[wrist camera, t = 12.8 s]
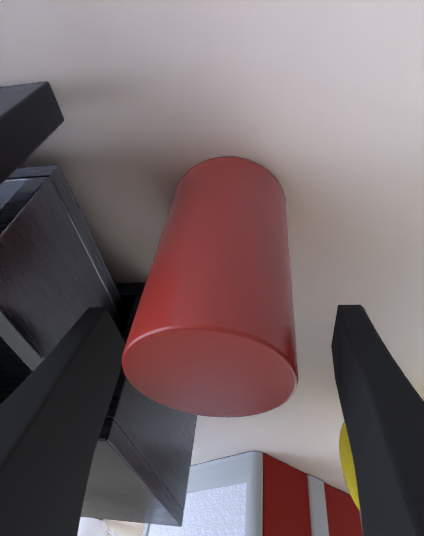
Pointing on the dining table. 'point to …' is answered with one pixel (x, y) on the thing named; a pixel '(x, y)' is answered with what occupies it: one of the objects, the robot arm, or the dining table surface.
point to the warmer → (140, 451)
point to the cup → (93, 528)
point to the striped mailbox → (260, 502)
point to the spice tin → (218, 298)
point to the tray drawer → (41, 243)
